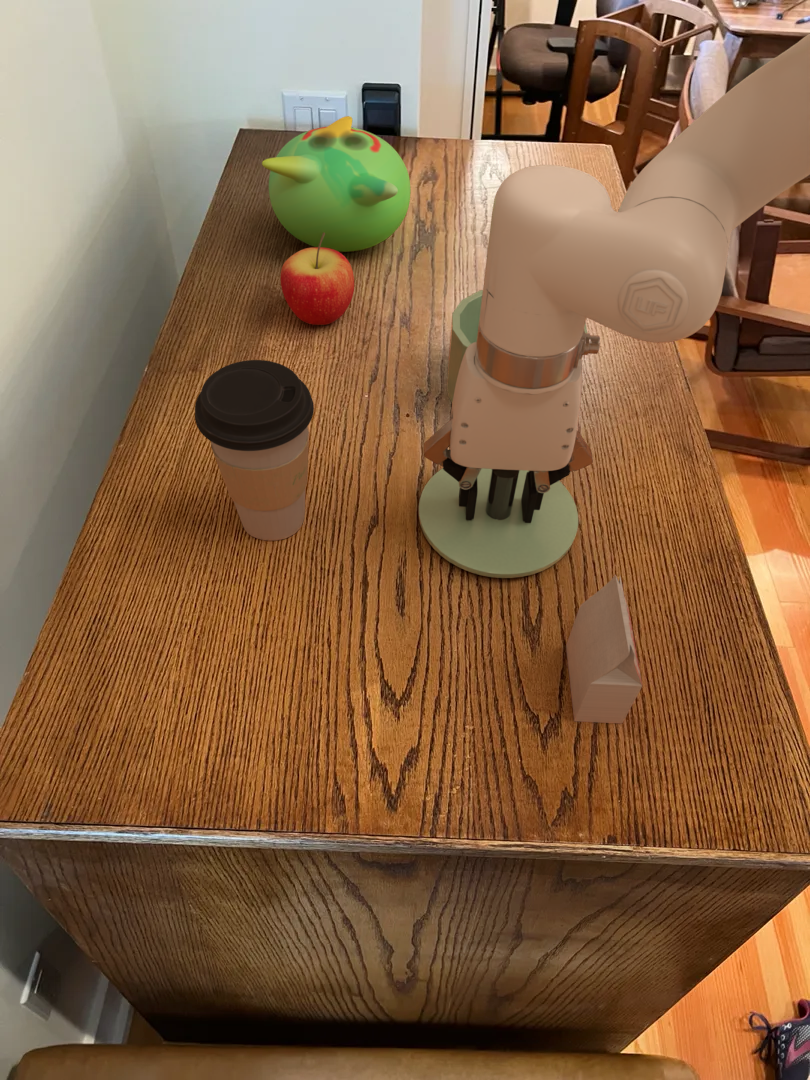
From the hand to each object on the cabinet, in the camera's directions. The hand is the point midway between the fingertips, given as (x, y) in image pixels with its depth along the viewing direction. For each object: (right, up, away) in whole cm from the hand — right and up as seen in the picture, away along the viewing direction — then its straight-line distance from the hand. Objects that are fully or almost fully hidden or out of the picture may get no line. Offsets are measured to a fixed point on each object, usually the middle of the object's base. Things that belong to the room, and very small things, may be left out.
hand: (497, 508), depth 71 cm
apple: (-19, +24, +21) cm, 37 cm away
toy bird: (-17, +37, +32) cm, 52 cm away
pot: (+3, +14, +13) cm, 19 cm away
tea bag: (+6, -14, -10) cm, 18 cm away
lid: (0, -1, +1) cm, 1 cm away
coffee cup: (-21, -1, +1) cm, 21 cm away
